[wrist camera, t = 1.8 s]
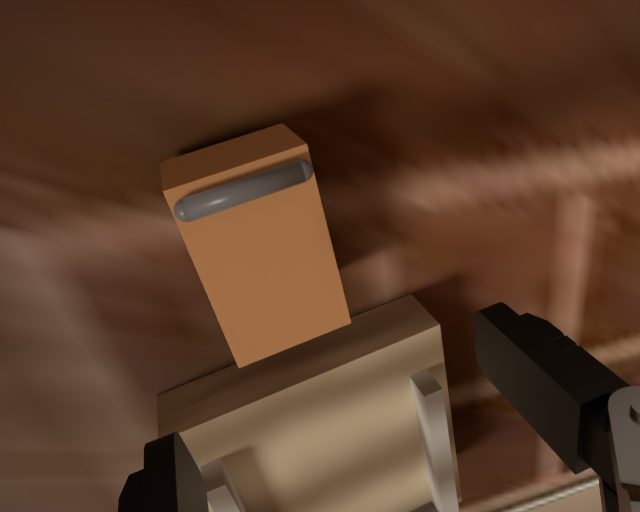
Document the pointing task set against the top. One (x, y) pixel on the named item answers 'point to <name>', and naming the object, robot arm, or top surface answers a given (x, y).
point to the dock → (328, 422)
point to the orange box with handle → (258, 240)
